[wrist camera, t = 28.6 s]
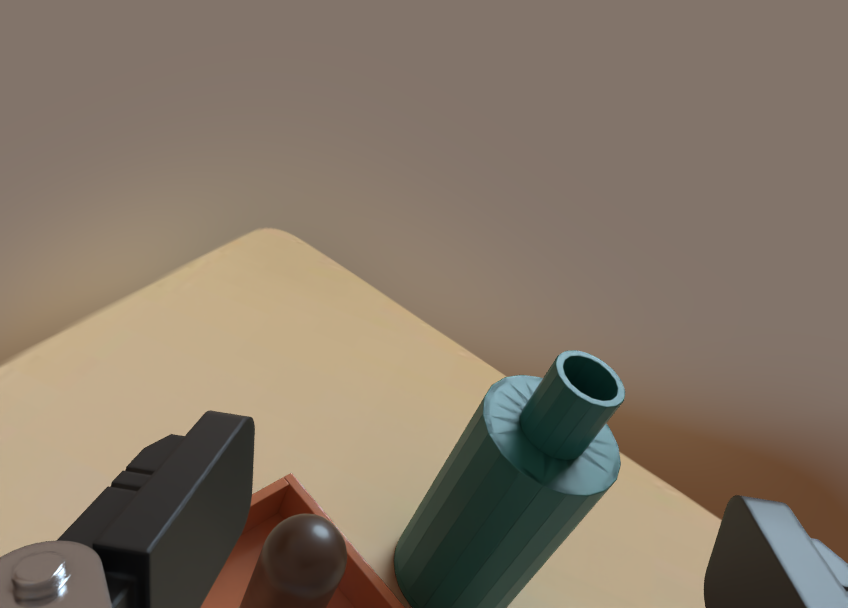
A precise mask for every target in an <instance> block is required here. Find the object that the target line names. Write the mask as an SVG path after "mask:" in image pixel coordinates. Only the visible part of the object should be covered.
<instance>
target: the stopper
mask: <svg viewBox="0 0 848 608" xmlns="http://www.w3.org/2000/svg"><path fill="white" fill-rule="evenodd" d="M346 564H347V549H346V544H345V541H344V539H343V536H342V534H341V533H340V531H339V530H338V528H337V527H336V526H335V525H334V524H333V523H332V522H330V521H329V520H327V519H326V518H324V517H321V516H319V515H315V514H298V515H294V516H291V517H289V518H287V519H285V520H283V521H282V522H280V523H279V524H278V525H277V526H276V527H274V529H273V530H272V531H271V532H270V533H269V535H268V537H267V538H266V540H265V543H264V545H263V547H262V550H261V553H260V555H259V558H258V560H257V563H256V566H255V568H254V571H253V573H252V576H251V578H250V581H249V584H248V586H247V589H246V591H245V594H244V596H243V599H242V602H241V604H240V606H239V607H237V608H326V607H327V605H328V603H329V601H330V600H331V598H332V596H333V594H334V592H335V590H336V589H337V587H338V585H339V583H340V581H341V579H342V577H343V575H344V572H345V569H346Z"/></svg>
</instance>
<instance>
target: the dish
mask: <svg viewBox="0 0 848 608" xmlns="http://www.w3.org/2000/svg"><path fill="white" fill-rule="evenodd" d="M298 514H315V515H319V516H321V517H324V518H326V519H327V520H329V521H330V522H332V520H331V519H330V518H329V517H328V516H327V514H326V513H325V512H324V511H323V510H322V508H321V507H320V506H319V505H318V504H317V503H316V501H315V500H314V499H313V498H312V497H311V495H310V494H309V493H308V492H307V491H306V489H305V488H304V487H303V486H302V485H301V484H300V482H299V481H298V480H297V479H296V478H295V476H294V475H293V474H292V473H290V474H288V475H287V476H285V477H284V478H281V479H279V480H277V481H276V482H274V483H272V484H270V485H268V486H267V487H265V488H263V489H261V490H260V491H258V492H256V493H254V494H252V499H251V505H250V510H249V514H248V518H247V521H246V524H245V527H244V529H243V532H242V534H241V536H240V537H239V539H238V541H237V543H236V545H235V546H234V548H233V550H232V552H231V554H230V555H229V557H228V559H227V561H226V563H225V564H224V566H223V568H222V570H221V571H220V573H219V575H218V577H217V579H216V580H215V582H214V584H213V586H212V588H211V589H210V591H209V593H208V595H207V597H206V598H205V600H204V602H203V604H202V606H201V607H200V608H237V607H239V606H240V604H241V602H242V599H243V596H244V594H245V591H246V589H247V586H248V584H249V581H250V578H251V576H252V573H253V571H254V568H255V566H256V563H257V560H258V558H259V555H260V553H261V550H262V547H263V545H264V543H265V540H266V538H267V537H268V535H269V533H270V532H271V531H272V530H273V529H274V527H276V526H277V525H278V524H279V523H280V522H282V521H283V520H285V519H287V518H289V517H291V516H294V515H298ZM332 523H333V522H332ZM333 524H334V523H333ZM334 525H335V524H334ZM335 526H336V525H335ZM336 527H337V526H336ZM337 528H338V527H337ZM338 530H339V529H338ZM339 531H340V530H339ZM340 533H341V534H342V536H343V539H344V541H345V544H346V549H347V564H346V569H345V572H344V575H343V577H342V579H341V581H340V583H339V585H338V587H337V589H336V590H335V592H334V594H333V596H332V598H331V600H330V601H329V603H328V605H327V607H326V608H405V607H404V606H403V605H402V604H401V602H400V601H399V600H398V599H397V598H396V596H395V595H394V594H393V593H392V592H391V590H390V589H389V588H388V587H387V586H386V585H385V583H384V582H383V581H382V580H381V579H380V577H379V576H378V575H377V574H376V573H375V571H374V570H373V569H372V568H371V567H370V565H369V564H368V563H367V562H366V561H365V560H364V558H363V557H362V556H361V555H360V554H359V552H358V551H357V550H356V549H355V548H354V546H353V545H352V544H351V543H350V542H349V541H348V539H347V538H346V537H345V536H344V535H343V533H342V532H341V531H340Z"/></svg>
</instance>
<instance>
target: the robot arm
mask: <svg viewBox="0 0 848 608" xmlns="http://www.w3.org/2000/svg"><path fill="white" fill-rule="evenodd" d="M254 435H255V426H254V421H253V418H252V417H247V416H241V415H235V414H228V413H222V412H216V411H207V412H206V413H205V414H204V415H203V416H202V417H201V418H200V419H199V421H198V422H197V423H196V424H195V425H194V426H193V427H192V429H191V430H190V431H189V432H188V433H187V434H186V436H179V435H173V434H171V435H169V436H167V437H165V438H163V439H161V440H159V441H157V442H155V443H153V444H151V445H149V446H147V447H145V448H144V449H143V450H142V451H141V452H140V453H139V454H138V455H137V456H136V457H135V458H134V459H133V460H132V461H131V463H130V464H129V465H128V466H127V467H126V470H125V471H122V472H121V473H120V474H119V475H118V476H117V477H116V478H115V479H114V481H113V482H112V484H111V487H107V488H106V489H105V490H104V491H103V492H102V493H101V494H100V495H99V496H98V497H97V498H96V500H95V501H94V502H93V503H92V504H91V505H90V506H89V507H88V508H87V509H86V510H85V511H84V512H83V513H82V514H81V515H80V516H79V518H78V519H77V520H76V521H75V522H74V523H73V524H72V525H71V526H70V527H69V528H68V529H67V530H66V531H65V532H64V533H63V534H62V535H61V537H60V538H59V539H58V540H57V541H46V542H40V543H35V544H31V545H28V546H24V547H22V548H19V549H16V550H14V551H12V552H10V553H8V554H6V555H4V556H2V557H1V558H0V608H200V607H201V606H202V604H203V602H204V600H205V598H206V597H207V595H208V593H209V591H210V589H211V588H212V586H213V584H214V582H215V580H216V579H217V577H218V575H219V573H220V571H221V570H222V568H223V566H224V564H225V563H226V561H227V559H228V557H229V555H230V554H231V552H232V550H233V548H234V546H235V545H236V543H237V541H238V539H239V537H240V536H241V534H242V532H243V529H244V527H245V524H246V521H247V518H248V514H249V510H250V505H251V499H252V481H253V458H254ZM704 600H705V606H706V608H848V564H847V563H846V562H845V561H843V560H842V559H841V558H840V557H839V556H837V555H836V554H835V553H834V552H833V551H831V550H830V549H829V548H828V547H826V546H825V545H824V544H823V543H822V542H820V541H819V540H817V539H811V538H810V537H809V536H808V534H807V533H806V531H805V530H804V528H803V527H802V525H801V524H800V523H799V521H798V520H797V518H796V517H795V515H794V514H793V512H792V511H791V509H790V508H789V507H788V505H786V504H785V503H782V502H776V501H770V500H764V499H758V498H751V497H745V496H739V495H737V496H733V497H732V498H731V499H730V501H729V502H728V504H727V507H726V509H725V512H724V516H723V519H722V522H721V525H720V528H719V532H718V535H717V538H716V541H715V544H714V548H713V551H712V554H711V557H710V560H709V563H708V567H707V570H706V574H705V580H704Z"/></svg>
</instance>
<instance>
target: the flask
mask: <svg viewBox="0 0 848 608" xmlns="http://www.w3.org/2000/svg"><path fill="white" fill-rule="evenodd" d="M624 397H625V389H624V386H623V383H622V381H621V379H620V378H619V377H618V376H617V374H616V373H615V372H614V370H613V369H612V368H610V367H609V366H608V365H607V364H605V363H604V362H603V361H602V360H600V359H598V358H596V357H594V356H592V355H591V354H588V353H585V352H581V351H576V350H574V351H565V352H563V353H562V354H560V355H558V356H557V358H556V359H555V361H554V363H553V364H552V366H551V367H550V369H549V370H548V372H547V373H546V375H545V376H544V378H540V377H534V376H526V375H517V376H511V377H505V378H503V379H501V380H500V381H498V382H496V383H495V384H493V385H492V386H491V387H490V389H489V390H488V392H487V394H486V395H485V397H484V399H483V400H482V402H481V404H480V405H479V407H478V409H477V410H476V412H475V414H474V415H473V417H472V419H471V420H470V422H469V424H468V425H467V427H466V429H465V430H464V432H463V434H462V435H461V437H460V439H459V440H458V442H457V444H456V445H455V447H454V449H453V450H452V452H451V454H450V455H449V457H448V459H447V460H446V462H445V464H444V465H443V467H442V469H441V470H440V472H439V474H438V475H437V477H436V479H435V480H434V482H433V484H432V485H431V487H430V489H429V490H428V492H427V494H426V495H425V497H424V499H423V500H422V502H421V504H420V505H419V507H418V509H417V510H416V512H415V514H414V515H413V517H412V519H411V520H410V522H409V524H408V525H407V527H406V529H405V530H404V532H403V534H402V535H401V537H400V539H399V541H398V544H397V546H396V550H395V556H394V567H395V574H396V578H397V581H398V584H399V587H400V589H401V591H402V593H403V595H404V596H405V598H406V600H407V601H408V602H409V604H410V605H411V606H412V607H413V608H507V606H508V605H509V604H510V603H511V602H512V601H513V599H514V598H515V597H516V596H517V595H518V594H519V592H520V591H521V590H522V589H523V588H524V587H525V585H526V584H527V583H528V582H529V581H530V580H531V579H532V577H533V576H534V575H535V574H536V573H537V572H538V570H539V569H540V568H541V567H542V566H543V565H544V563H545V562H546V561H547V560H548V559H549V558H550V556H551V555H552V554H553V553H554V552H555V551H556V550H557V548H558V547H559V546H560V545H561V544H562V543H563V541H564V540H565V539H566V538H567V537H568V536H569V534H570V533H571V532H572V531H573V530H574V529H575V527H576V526H577V525H578V524H579V523H580V522H581V521H582V519H583V518H584V517H585V516H586V515H587V514H588V512H589V511H590V510H591V509H592V508H593V507H594V505H595V504H596V503H597V502H598V501H599V500H600V498H601V497H602V496H603V495H604V494H605V493H606V492H607V490H608V489H609V488H610V487H611V486H612V485H613V483H614V482H615V481H616V480H617V476H618V473H619V469H620V465H621V462H620V455H619V448H618V445H617V443H616V441H615V438H614V437H613V434H612V432H611V430H610V429H609V427H608V425H607V424H606V423H607V422H608V420H609V419H610V418H611V417H612V415H613V414H614V413H615V411H616V410H617V409H618V408H619V406H620V405H621V404H622V403H623V401H624Z"/></svg>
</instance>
